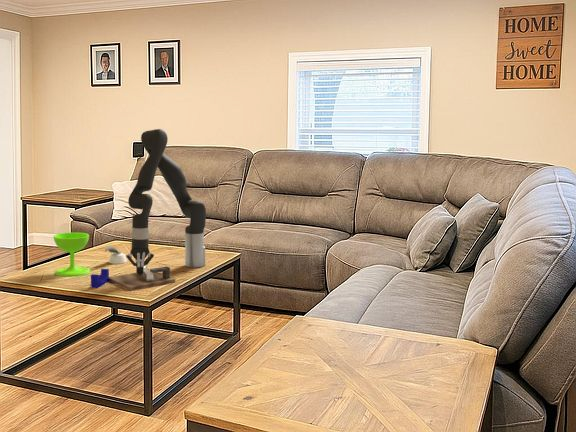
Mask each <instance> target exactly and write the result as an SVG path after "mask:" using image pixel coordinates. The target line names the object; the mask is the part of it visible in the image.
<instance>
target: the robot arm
mask: <svg viewBox="0 0 576 432" xmlns="http://www.w3.org/2000/svg"><path fill="white" fill-rule="evenodd" d="M140 141H141V144H142V147H143V148H144V149H145V151H146V152H147V154H148V155H149V156H148V157H147V159H146V160H145V161H144V163H143V165H142V167H141V168H140V170H139V173H138V177H137V182H136V184H135V186H134V187H133V189H132V191H131V193H130V194H129V197H128V203H127V204H128V206H129V208H131V209H135V210H142V211H141V212H140V213H136V214H133V216H132V222H131V224H132V225H131V226H132V227H131V249H130V250H129V251H130V252H129V253H128V254H125V256H126V259H127V261H129V263H130V264H131V265H133V266H134V267H136V272H135V273H137V274H138V275H142V274H143V267H144V266H148V264H149V263H150V262H151V260H153V258H154V256H155V254H153V253H152V252H151V251H150V247H149V243H150V242H149V237H150V232H149V217H150V213H151V210H152V206H153V203H154V201H153V197H152V196H151V194H148V193H145V192H149V191H151V190H152V189H153V186H154V185H153V184H154V181H155V177H156V176H155V175H156V173H157V169H158V170H159V172H160V174H161V175H162V177H163V179H164V181H165V182H166V184H167V186H168V187H169V189H170V191H171V193H172V195H174V197H175V200H176V201H177V204H178V206H179V208H180V211H181V212H182V215H183V216H184V217H185V218H187V219H190V220H189V225H186V227H185V229H184V230H185V231H184V239H185V241H184V246H185V248H184V250H185V252H184V253H185V254H184V255H185V256H184V257H185V258H184V259H185V260H184V261H185V262H184V264H185V265H184V266H185V267H187V268H192V269H193V268H202V267H204V266H206V247H205V245H204V244H205V241H204V239H205V238H204V229H205V227H206V218H207V209H206V205H205V204H204V202H202V201H197V200H193V198H192V196H190V194H189V191H188V188H187V180H186V176H185V174H184V172H183V170H182V168H181V167H180V166H179V165H178V164H177V163H176V162H175V161H174V160H173V159H171V158H170V157H169V156H167V154H165V153H164V152H165V150H166V148H167V144H168V133H167V132H166V131H165V130H164V129H161V128H157V129H156V128H154V129H152V130H151V129H150V130H146V131H143V132H142V133H141V135H140ZM133 258H134V259H135V261H134V260H133Z"/></svg>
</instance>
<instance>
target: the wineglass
mask: <svg viewBox="0 0 576 432" xmlns="http://www.w3.org/2000/svg"><path fill="white" fill-rule="evenodd" d="M53 240H54V242H55V245H56V247H58V249H59V250H62V251H63V252H66V253H69V264H70V265H69V266H67V267H62V268H59V269H57V270H55V272H54V274H55V275H56V276H57V277H64V278H65V277H66V278H68V277H69V278H70V277H73V276H74V277H80V276H85V275H88V274H90V273H91V270H90V269H89V268H88V267H84V266H76V265H75V253H77V252H79V251H81V250H83V249H84V248H85V247H86V245H87V244H88V242H89V240H90V234H89V233H86V232H61V233H57V234H55V235H53ZM74 277H73V278H74Z"/></svg>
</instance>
